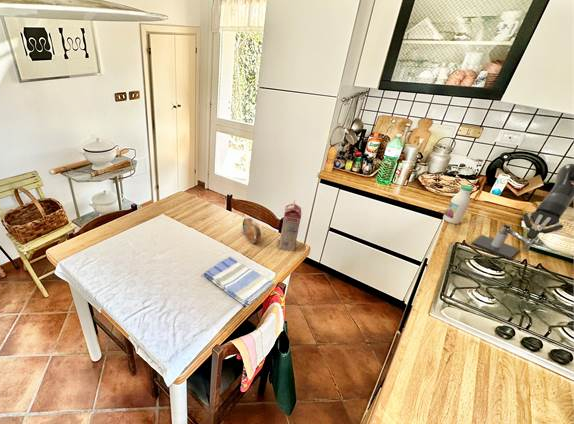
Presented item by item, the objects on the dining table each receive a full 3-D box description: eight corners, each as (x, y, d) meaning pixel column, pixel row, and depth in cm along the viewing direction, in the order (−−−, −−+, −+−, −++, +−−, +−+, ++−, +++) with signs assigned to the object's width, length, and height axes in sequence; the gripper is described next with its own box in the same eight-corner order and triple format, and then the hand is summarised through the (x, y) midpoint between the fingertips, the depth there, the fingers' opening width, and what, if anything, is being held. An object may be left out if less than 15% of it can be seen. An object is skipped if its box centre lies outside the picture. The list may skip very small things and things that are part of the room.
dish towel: (247, 310, 107) (248, 304, 105) (201, 276, 122) (201, 271, 121) (276, 286, 117) (277, 281, 116) (230, 258, 132) (231, 253, 131)
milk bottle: (457, 218, 166) (474, 185, 156) (461, 225, 160) (479, 190, 150) (441, 215, 169) (456, 182, 159) (444, 222, 162) (460, 188, 153)
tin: (241, 229, 153) (242, 215, 149) (247, 229, 154) (248, 214, 150) (254, 246, 140) (256, 231, 136) (260, 245, 141) (262, 230, 137)
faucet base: (518, 251, 140) (527, 236, 136) (509, 259, 134) (519, 244, 130) (481, 236, 150) (488, 222, 146) (471, 244, 144) (479, 230, 141)
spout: (496, 232, 140) (500, 224, 138) (502, 232, 140) (507, 224, 138) (523, 249, 128) (529, 241, 126) (531, 249, 128) (537, 241, 126)
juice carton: (279, 248, 140) (286, 205, 129) (279, 240, 145) (286, 199, 135) (294, 250, 138) (302, 207, 127) (294, 242, 144) (302, 201, 133)
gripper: (534, 195, 132) (511, 227, 132) (578, 207, 123) (553, 242, 123) (531, 203, 138) (508, 234, 137) (573, 215, 128) (549, 248, 128)
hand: (530, 237), depth 130 cm, fingers closed
